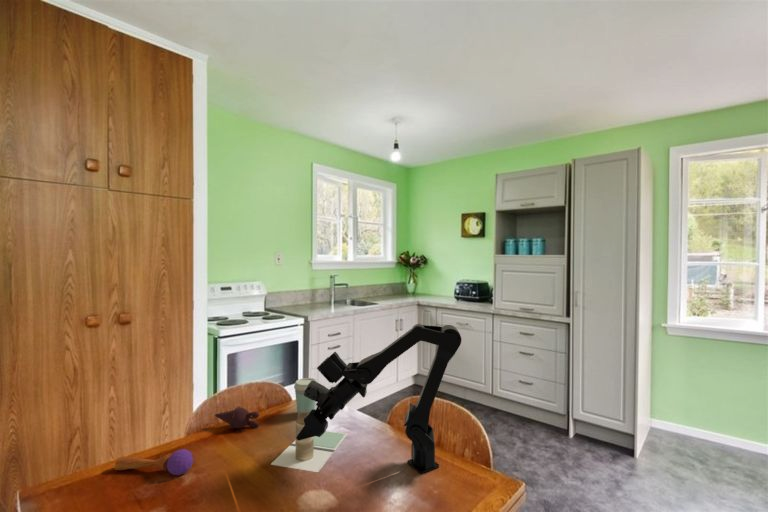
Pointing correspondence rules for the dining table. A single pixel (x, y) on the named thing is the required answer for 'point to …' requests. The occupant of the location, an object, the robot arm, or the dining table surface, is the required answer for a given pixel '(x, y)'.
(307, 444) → the wooden pin
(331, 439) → the board
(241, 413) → the icecream
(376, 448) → the dining table surface
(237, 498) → the dining table surface
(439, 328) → the robot arm
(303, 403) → the coffee cup
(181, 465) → the kendama
